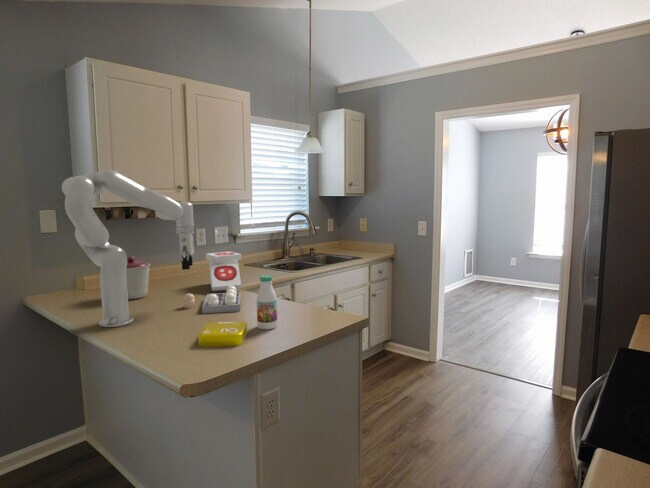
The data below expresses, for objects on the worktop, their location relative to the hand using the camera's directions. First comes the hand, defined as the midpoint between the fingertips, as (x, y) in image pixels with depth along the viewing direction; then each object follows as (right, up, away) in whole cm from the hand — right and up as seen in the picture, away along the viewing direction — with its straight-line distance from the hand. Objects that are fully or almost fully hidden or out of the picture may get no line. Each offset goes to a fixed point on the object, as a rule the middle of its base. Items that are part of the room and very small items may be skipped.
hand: (187, 267), depth 192 cm
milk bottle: (+40, -22, -28) cm, 54 cm away
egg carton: (+15, -18, +5) cm, 24 cm away
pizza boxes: (+7, -14, +43) cm, 46 cm away
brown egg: (0, -18, +2) cm, 19 cm away
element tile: (+26, -24, -41) cm, 54 cm away
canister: (-35, -17, +22) cm, 45 cm away
